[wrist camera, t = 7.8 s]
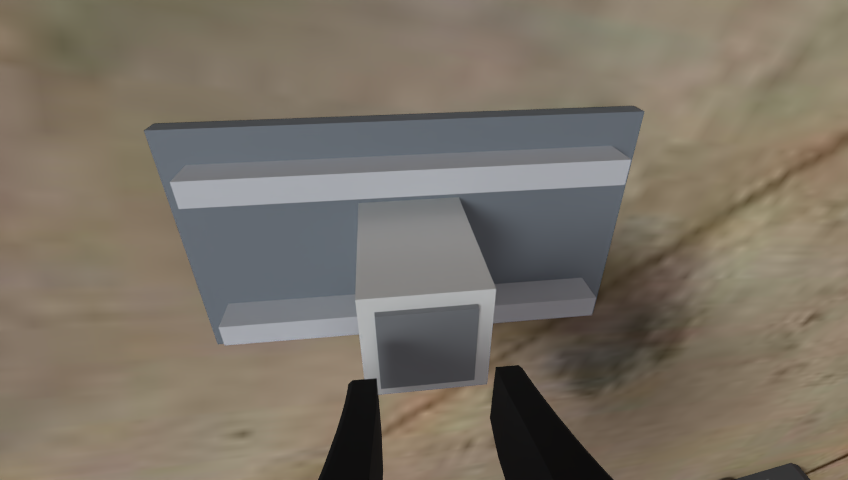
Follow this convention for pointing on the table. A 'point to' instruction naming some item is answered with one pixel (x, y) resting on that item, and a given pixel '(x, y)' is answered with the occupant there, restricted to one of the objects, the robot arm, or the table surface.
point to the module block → (422, 296)
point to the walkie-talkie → (779, 474)
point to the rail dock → (391, 181)
